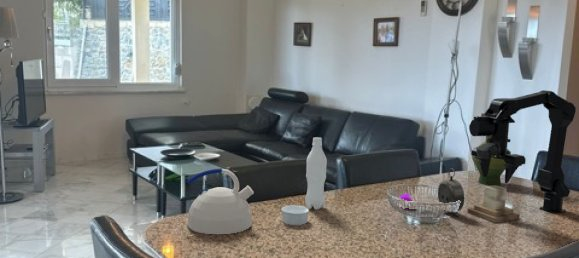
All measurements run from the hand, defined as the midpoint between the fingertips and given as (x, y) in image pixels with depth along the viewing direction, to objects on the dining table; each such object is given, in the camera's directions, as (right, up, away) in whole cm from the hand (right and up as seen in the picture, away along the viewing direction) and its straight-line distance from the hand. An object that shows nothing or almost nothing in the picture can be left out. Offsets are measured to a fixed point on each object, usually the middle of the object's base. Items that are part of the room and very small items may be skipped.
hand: (495, 180), depth 188 cm
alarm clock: (-16, -12, +1) cm, 20 cm away
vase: (+16, -6, +48) cm, 51 cm away
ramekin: (-70, -13, -12) cm, 72 cm away
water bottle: (-63, -10, +4) cm, 63 cm away
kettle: (-93, -13, -17) cm, 96 cm away
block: (-1, -9, 0) cm, 9 cm away
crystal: (-30, -11, +8) cm, 33 cm away
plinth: (-1, -12, 0) cm, 12 cm away
